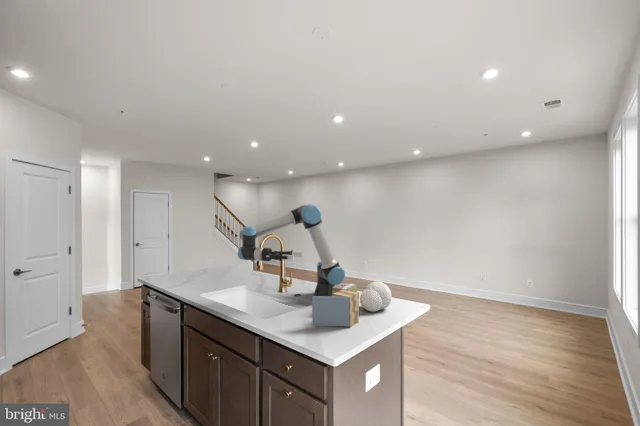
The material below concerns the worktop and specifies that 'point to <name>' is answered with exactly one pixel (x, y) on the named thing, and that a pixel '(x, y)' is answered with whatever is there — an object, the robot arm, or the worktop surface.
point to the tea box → (344, 287)
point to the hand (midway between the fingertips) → (298, 256)
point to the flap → (330, 311)
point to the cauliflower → (376, 296)
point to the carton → (350, 305)
